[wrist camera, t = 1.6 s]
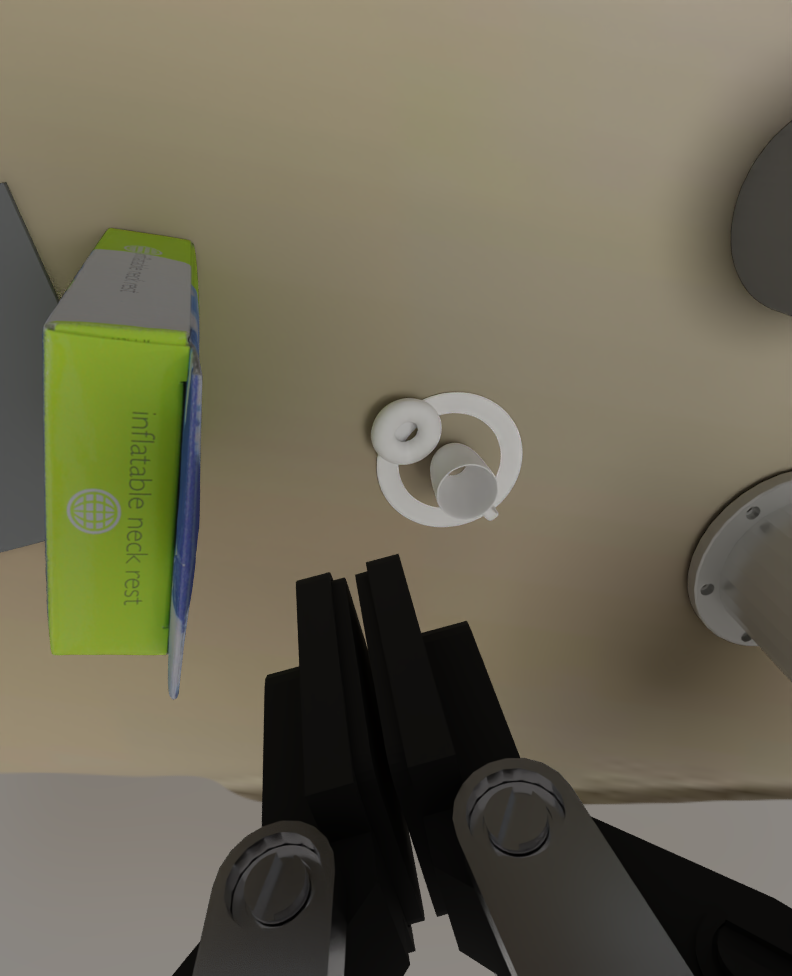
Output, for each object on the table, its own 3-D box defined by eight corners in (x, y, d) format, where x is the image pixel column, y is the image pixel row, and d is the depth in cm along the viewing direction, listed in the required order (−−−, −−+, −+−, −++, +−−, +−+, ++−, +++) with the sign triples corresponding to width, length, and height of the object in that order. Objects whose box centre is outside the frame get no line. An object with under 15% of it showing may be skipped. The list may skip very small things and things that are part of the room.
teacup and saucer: (347, 410, 35) (354, 441, 32) (492, 351, 35) (516, 376, 32) (404, 542, 40) (417, 583, 36) (535, 491, 39) (560, 527, 36)
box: (103, 223, 29) (8, 339, 14) (204, 239, 30) (212, 360, 16) (102, 451, 34) (30, 715, 19) (191, 456, 35) (187, 708, 20)
